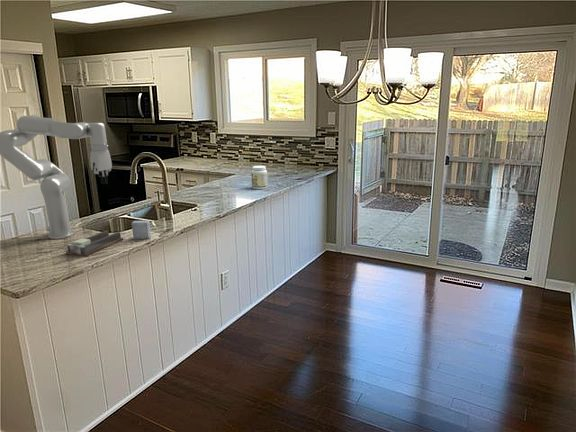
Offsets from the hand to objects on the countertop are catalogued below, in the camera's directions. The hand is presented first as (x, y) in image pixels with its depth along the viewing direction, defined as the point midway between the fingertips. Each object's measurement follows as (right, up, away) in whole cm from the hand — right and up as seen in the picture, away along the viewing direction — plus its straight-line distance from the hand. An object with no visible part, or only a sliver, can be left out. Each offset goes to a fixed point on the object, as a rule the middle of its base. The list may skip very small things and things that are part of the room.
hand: (104, 183), depth 214 cm
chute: (+1, -31, -11) cm, 33 cm away
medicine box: (+19, -28, +1) cm, 34 cm away
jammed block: (-2, -32, -18) cm, 37 cm away
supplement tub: (+72, +5, +114) cm, 135 cm away
